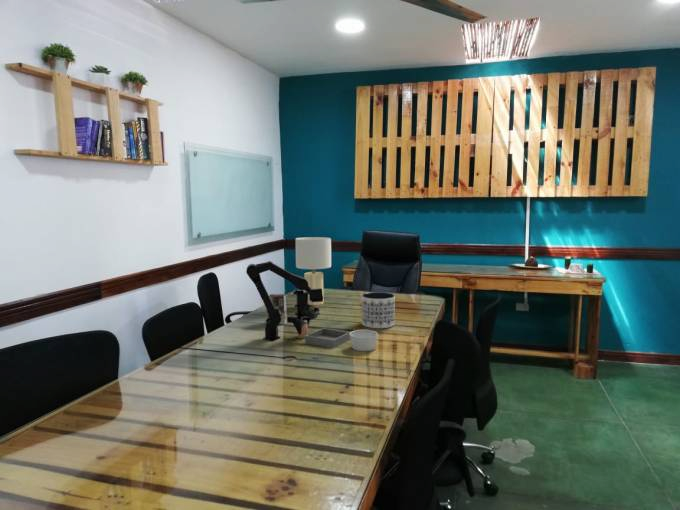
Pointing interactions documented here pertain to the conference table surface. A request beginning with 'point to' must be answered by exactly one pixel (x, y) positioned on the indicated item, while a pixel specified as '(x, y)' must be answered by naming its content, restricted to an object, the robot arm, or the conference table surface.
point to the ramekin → (363, 340)
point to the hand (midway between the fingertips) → (302, 333)
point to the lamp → (313, 261)
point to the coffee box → (280, 305)
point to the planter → (378, 310)
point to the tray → (327, 337)
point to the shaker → (303, 329)
